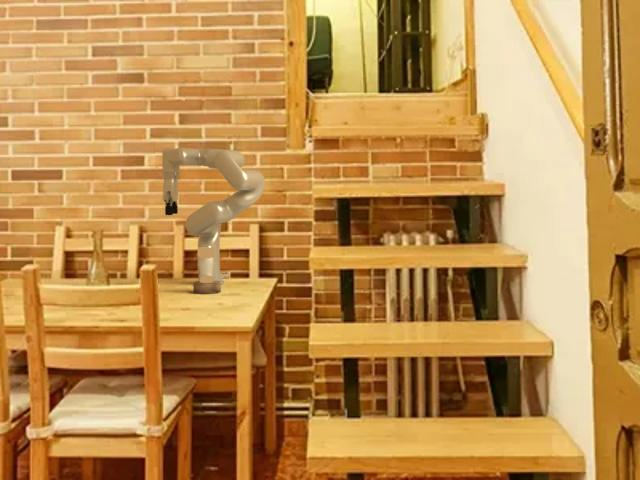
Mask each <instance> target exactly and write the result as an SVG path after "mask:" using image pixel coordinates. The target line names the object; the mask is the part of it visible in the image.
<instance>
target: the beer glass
mask: <svg viewBox="0 0 640 480" xmlns="http://www.w3.org/2000/svg"><path fill="white" fill-rule="evenodd" d="M214 261H215V253H214V246H211V245H205V246H198V245H197V266H198V265H199V270H200V280H199V283H203V284H207V283H214V278H213V268H214Z"/></svg>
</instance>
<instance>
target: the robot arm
mask: <svg viewBox="0 0 640 480" xmlns="http://www.w3.org/2000/svg"><path fill="white" fill-rule="evenodd" d="M161 152H162V155H161V156H162V159H161V160H162V164H161V165H162V180H163V187H162V191H163V192H162V193H163V194H162V200H163V202H165V203H164V206H165V207H164V208H165V209H164V212H165V216H173V215H175V214H176V215H177V214H178V208H179V207H178V200H179V182H178V181H179V180H181V176H180V175H181V174H180V173H181V172H180V171H181V170H180V166H200V167H201V166H202V167H207V168H209V169H215V170H218V172H219V173H221V175H222V177H223V178H224V179H225V180H226V182H227V183H228V184H229V185H230V187H232V188H233V189H234V190H237V191H236V192H234V193H232V194H231V195H230V196H228V197H226V198H225V199H223V200H222V199H221V200H212V201H209V202H208V203H206V204H204V205H202V206H201V207H200V208H198V209H196V211H193V213H191V214H190V215H189V216H188V217H187V218H186V220H185V224H184V226H185V230H186V231H187V233H189V235H191V236H195V237H198V241H197V247H198V246H205V245H211V246H214V253H215V261H214V268H213V278H214V281H220V286H222V285H224V284H225V281H224V280H223V279H228V278H229V276H230V275H229V273H222V272H221V260H220V259H221V255H220V254H221V253H220V250H221V249H220V246H221V245H220V241H221V240H220V239H221V238H220V237H221V229H222V224H223V223H228V222H230V221H232V220H233V219H234V218H236V217H238V216H239V215H240V214H242V213H244V212H245V211H246V210H247V209H249V208H250V207H251V206H253V205H254V204H256V203H257V202H258V201H259V200H260V199H261V197H262V196H263V194H264V192H265V188H266V180H265V176H264V175H263V174H262V173H261V172H260V171H258V170H254V169H242V168H243V166H244V165H245V156H244V155H243V153H242V152H241V151H239V150H236V149H235V150H234V149H222V148H208V149H205V148H193V147H192V148H191V147H178V148H172V147H171V148H170V147H169V148H164V149H163V150H162V151H161ZM197 273H198V274H197V275H198V280H196V281H195V282H197V281H199V280H200V270H199V265H198V264H197Z"/></svg>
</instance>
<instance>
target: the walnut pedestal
mask: <svg viewBox="0 0 640 480" xmlns="http://www.w3.org/2000/svg"><path fill="white" fill-rule="evenodd" d="M196 281H197V282H196ZM196 281H193V285H192V287H193V294H195V295H213V294H219V293H221V285H220V281H214V283H207V284H203V283H199V281H198V280H196Z"/></svg>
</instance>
